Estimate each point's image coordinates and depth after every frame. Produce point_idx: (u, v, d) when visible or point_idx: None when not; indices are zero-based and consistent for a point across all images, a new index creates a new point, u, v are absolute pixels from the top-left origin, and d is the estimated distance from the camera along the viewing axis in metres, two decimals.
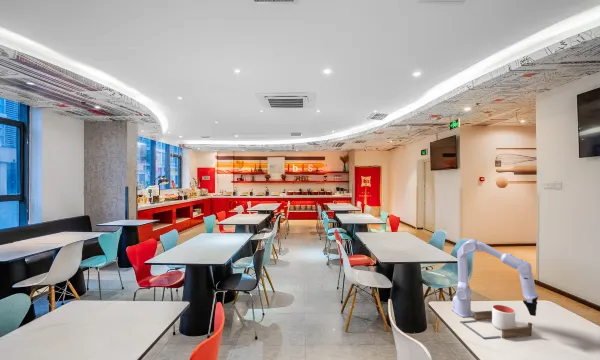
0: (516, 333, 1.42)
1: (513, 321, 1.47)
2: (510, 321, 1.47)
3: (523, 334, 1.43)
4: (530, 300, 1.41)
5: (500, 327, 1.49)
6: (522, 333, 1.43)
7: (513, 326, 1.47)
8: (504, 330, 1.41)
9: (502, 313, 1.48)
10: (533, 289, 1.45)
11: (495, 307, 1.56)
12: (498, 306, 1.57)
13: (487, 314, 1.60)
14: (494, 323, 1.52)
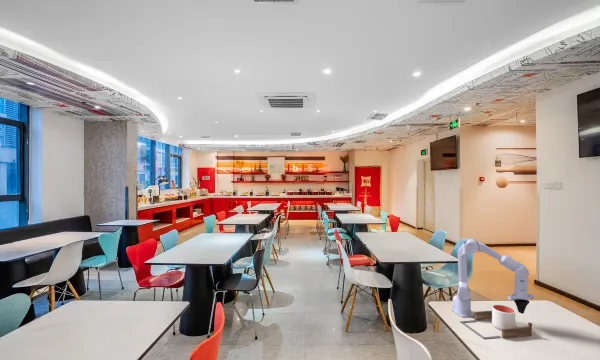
0: (516, 333, 1.42)
1: (513, 321, 1.47)
2: (510, 321, 1.47)
3: (523, 334, 1.43)
4: (510, 298, 1.52)
5: (500, 327, 1.49)
6: (522, 333, 1.43)
7: (513, 326, 1.47)
8: (504, 330, 1.41)
9: (502, 313, 1.48)
10: (521, 291, 1.51)
11: (495, 307, 1.56)
12: (498, 306, 1.57)
13: (487, 314, 1.60)
14: (494, 323, 1.52)
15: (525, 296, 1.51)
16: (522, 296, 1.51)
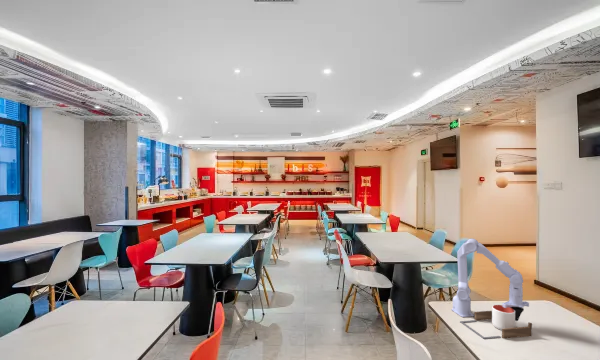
0: (516, 333, 1.42)
1: (513, 321, 1.47)
2: (510, 320, 1.47)
3: (523, 334, 1.43)
4: (504, 305, 1.51)
5: (500, 327, 1.49)
6: (522, 333, 1.43)
7: (513, 326, 1.47)
8: (504, 330, 1.41)
9: (502, 313, 1.48)
10: (516, 299, 1.51)
11: (495, 307, 1.56)
12: (498, 306, 1.57)
13: (487, 314, 1.60)
14: (494, 323, 1.52)
15: (520, 304, 1.50)
16: (517, 304, 1.50)
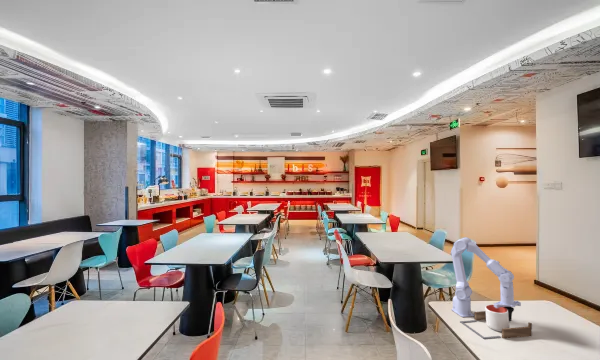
0: (516, 333, 1.42)
1: (506, 321, 1.47)
2: (503, 320, 1.46)
3: (523, 334, 1.43)
4: (496, 305, 1.50)
5: (493, 327, 1.48)
6: (522, 333, 1.43)
7: (506, 326, 1.47)
8: (504, 330, 1.41)
9: (494, 313, 1.48)
10: (507, 298, 1.50)
11: (489, 307, 1.56)
12: (492, 306, 1.56)
13: None
14: (488, 323, 1.51)
15: (511, 303, 1.49)
16: (508, 303, 1.49)
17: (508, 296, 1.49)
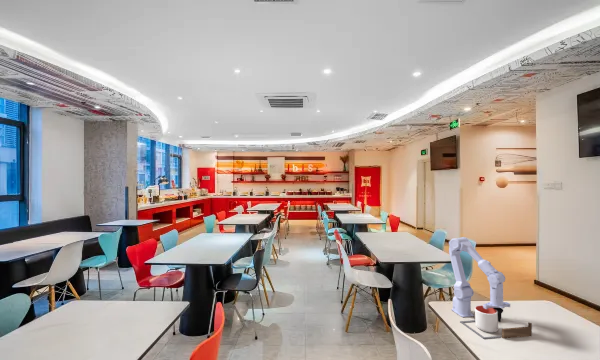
0: (516, 333, 1.42)
1: (495, 322, 1.46)
2: (492, 321, 1.45)
3: (523, 334, 1.43)
4: (485, 306, 1.49)
5: (482, 328, 1.48)
6: (522, 333, 1.43)
7: (495, 327, 1.46)
8: (504, 330, 1.41)
9: (483, 314, 1.47)
10: (496, 299, 1.49)
11: (479, 308, 1.55)
12: (482, 307, 1.55)
13: None
14: (477, 324, 1.50)
15: (500, 304, 1.48)
16: (497, 304, 1.48)
17: (497, 297, 1.48)
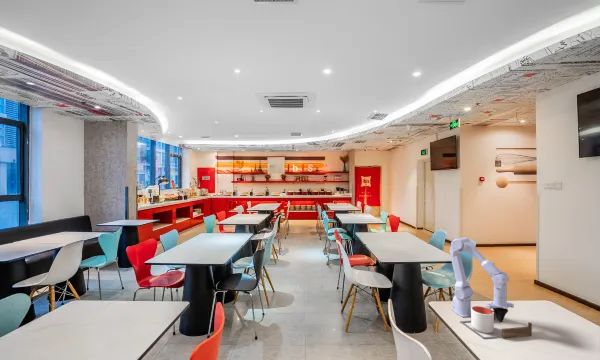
0: (516, 333, 1.42)
1: (491, 323, 1.46)
2: (488, 322, 1.45)
3: (523, 334, 1.43)
4: (488, 306, 1.50)
5: (478, 329, 1.47)
6: (522, 333, 1.43)
7: (491, 328, 1.46)
8: (504, 330, 1.41)
9: (480, 314, 1.46)
10: (500, 300, 1.49)
11: (475, 308, 1.55)
12: (478, 307, 1.55)
13: None
14: (472, 324, 1.50)
15: (504, 305, 1.49)
16: (501, 305, 1.49)
17: (501, 297, 1.49)
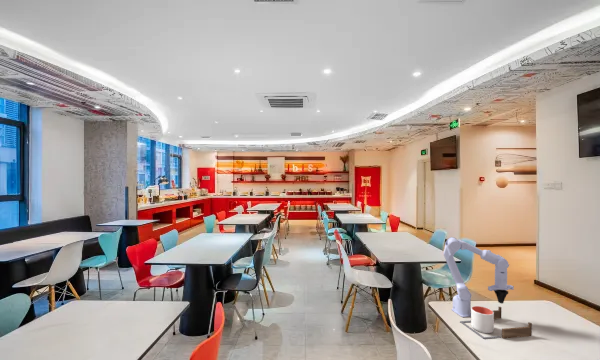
0: (516, 333, 1.42)
1: (491, 323, 1.46)
2: (488, 322, 1.45)
3: (523, 334, 1.43)
4: (490, 288, 1.59)
5: (478, 329, 1.47)
6: (522, 333, 1.43)
7: (491, 328, 1.46)
8: (504, 330, 1.41)
9: (480, 314, 1.46)
10: (501, 282, 1.58)
11: (475, 308, 1.55)
12: (478, 307, 1.55)
13: None
14: (473, 324, 1.50)
15: (504, 287, 1.58)
16: (501, 287, 1.58)
17: (502, 280, 1.58)
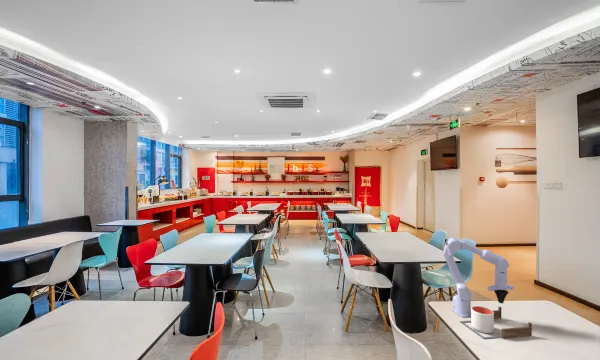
0: (516, 333, 1.42)
1: (491, 323, 1.46)
2: (488, 322, 1.45)
3: (523, 334, 1.43)
4: (490, 288, 1.59)
5: (478, 329, 1.47)
6: (522, 333, 1.43)
7: (491, 328, 1.46)
8: (504, 330, 1.41)
9: (480, 314, 1.46)
10: (501, 282, 1.58)
11: (475, 308, 1.55)
12: (478, 307, 1.55)
13: None
14: (472, 324, 1.50)
15: (504, 287, 1.58)
16: (501, 287, 1.58)
17: (502, 280, 1.58)
